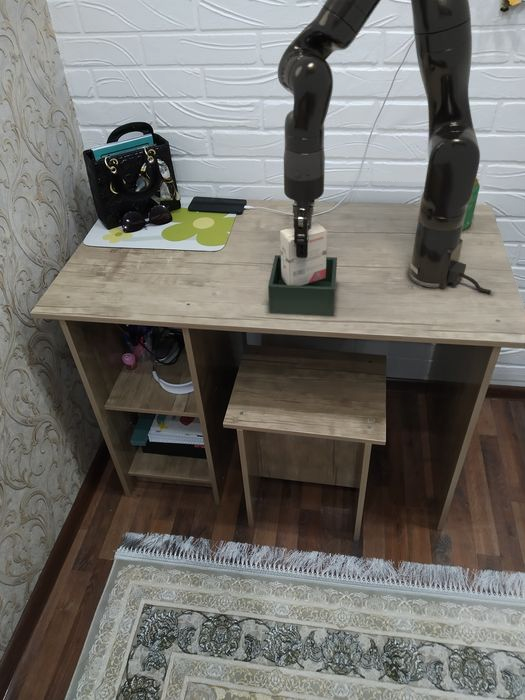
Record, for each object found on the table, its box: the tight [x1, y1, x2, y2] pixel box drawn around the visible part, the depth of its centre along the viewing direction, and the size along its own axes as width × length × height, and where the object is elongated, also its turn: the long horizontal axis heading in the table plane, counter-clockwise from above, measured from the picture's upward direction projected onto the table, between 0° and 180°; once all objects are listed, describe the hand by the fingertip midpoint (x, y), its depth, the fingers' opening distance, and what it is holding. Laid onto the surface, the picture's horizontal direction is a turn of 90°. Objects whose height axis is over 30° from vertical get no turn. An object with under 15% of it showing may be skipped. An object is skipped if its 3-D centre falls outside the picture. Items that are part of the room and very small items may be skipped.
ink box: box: [279, 220, 328, 286], centre depth 118 cm, size 9×5×12 cm, turn 113°
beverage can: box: [462, 177, 481, 232], centre depth 140 cm, size 8×8×12 cm
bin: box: [267, 254, 338, 317], centre depth 123 cm, size 14×12×7 cm
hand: (303, 246), depth 116 cm, fingers closed on ink box, 7 cm apart
